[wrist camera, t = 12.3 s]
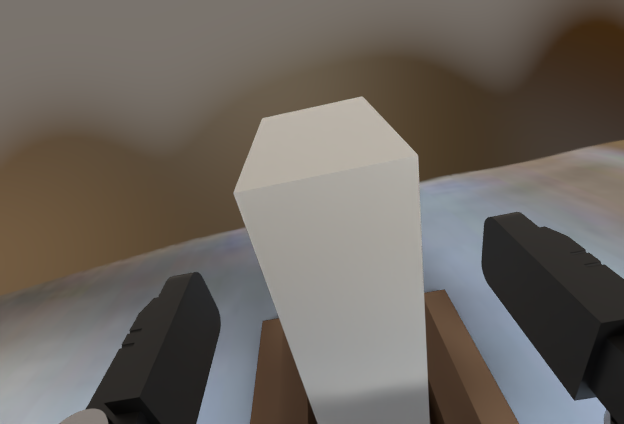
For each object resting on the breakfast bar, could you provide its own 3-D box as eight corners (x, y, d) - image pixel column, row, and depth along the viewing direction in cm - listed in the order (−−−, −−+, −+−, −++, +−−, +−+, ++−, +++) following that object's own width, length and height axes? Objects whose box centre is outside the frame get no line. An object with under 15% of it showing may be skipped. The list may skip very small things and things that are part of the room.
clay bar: (353, 520, 12) (233, 193, 5) (338, 391, 16) (262, 118, 10) (433, 510, 12) (418, 155, 5) (397, 381, 16) (362, 96, 9)
